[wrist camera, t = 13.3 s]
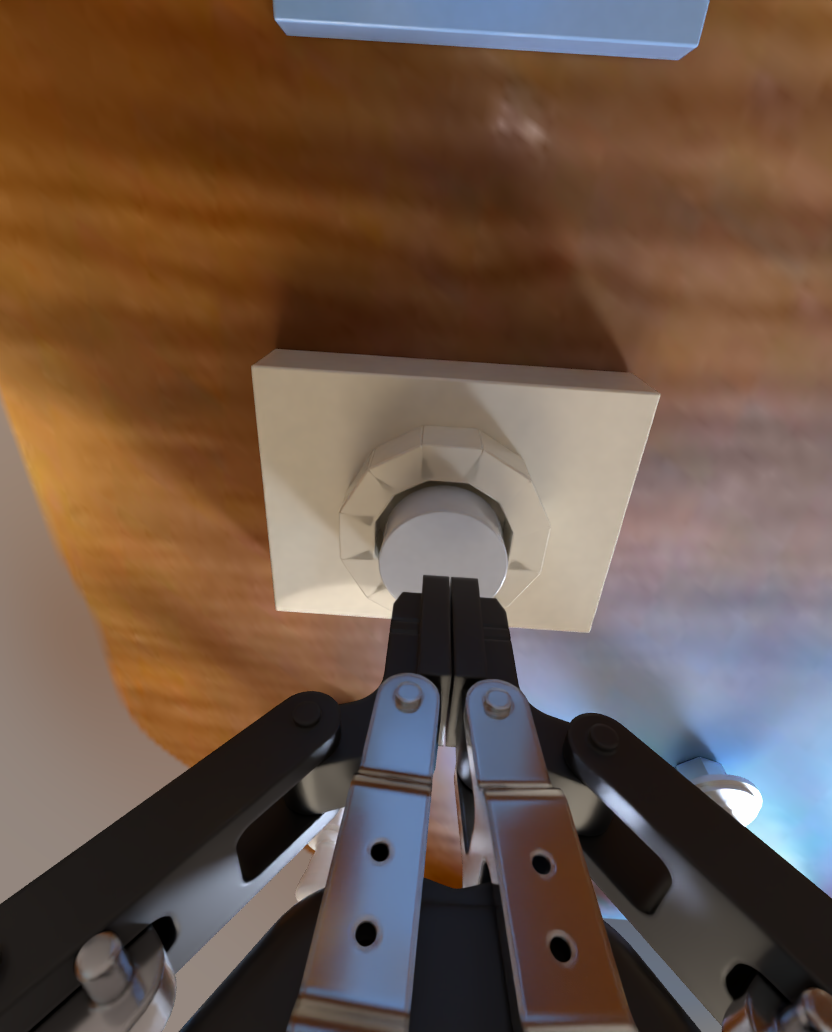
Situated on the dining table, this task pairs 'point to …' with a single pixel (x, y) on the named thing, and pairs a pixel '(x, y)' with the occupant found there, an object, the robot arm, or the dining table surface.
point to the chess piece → (320, 858)
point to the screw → (724, 788)
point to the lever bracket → (507, 24)
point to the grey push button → (442, 541)
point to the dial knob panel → (445, 472)
